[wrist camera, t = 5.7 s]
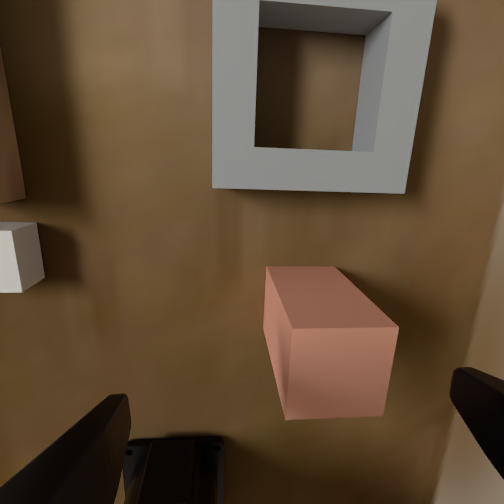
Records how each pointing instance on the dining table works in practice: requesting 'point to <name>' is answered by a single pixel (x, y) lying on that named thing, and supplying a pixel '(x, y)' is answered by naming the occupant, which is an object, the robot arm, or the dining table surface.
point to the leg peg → (326, 344)
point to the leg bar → (8, 147)
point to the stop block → (19, 256)
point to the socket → (369, 99)
